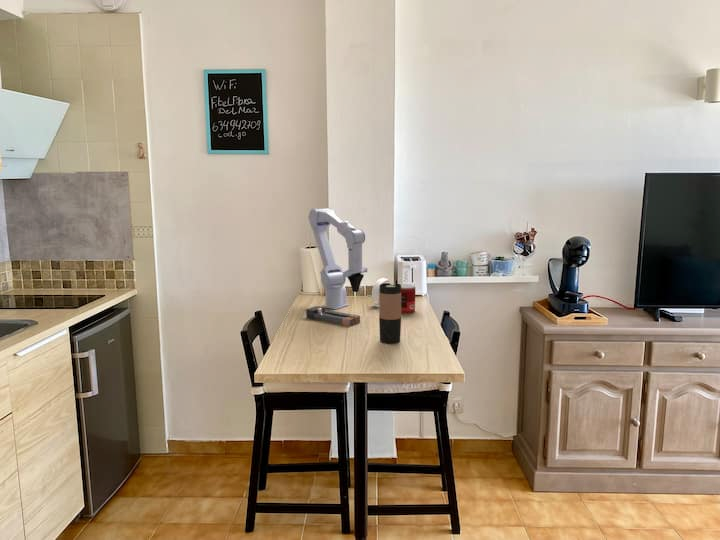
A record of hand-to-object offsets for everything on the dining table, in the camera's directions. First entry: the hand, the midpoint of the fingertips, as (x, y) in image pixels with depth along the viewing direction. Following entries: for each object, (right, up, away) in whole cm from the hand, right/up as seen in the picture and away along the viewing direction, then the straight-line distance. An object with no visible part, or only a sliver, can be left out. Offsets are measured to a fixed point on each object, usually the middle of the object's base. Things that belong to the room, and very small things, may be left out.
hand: (355, 291), depth 233 cm
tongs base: (-9, -11, -9) cm, 17 cm away
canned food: (+22, -9, +6) cm, 24 cm away
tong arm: (-5, -11, -9) cm, 15 cm away
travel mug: (+12, -16, -37) cm, 42 cm away
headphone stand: (+11, -7, +15) cm, 20 cm away
